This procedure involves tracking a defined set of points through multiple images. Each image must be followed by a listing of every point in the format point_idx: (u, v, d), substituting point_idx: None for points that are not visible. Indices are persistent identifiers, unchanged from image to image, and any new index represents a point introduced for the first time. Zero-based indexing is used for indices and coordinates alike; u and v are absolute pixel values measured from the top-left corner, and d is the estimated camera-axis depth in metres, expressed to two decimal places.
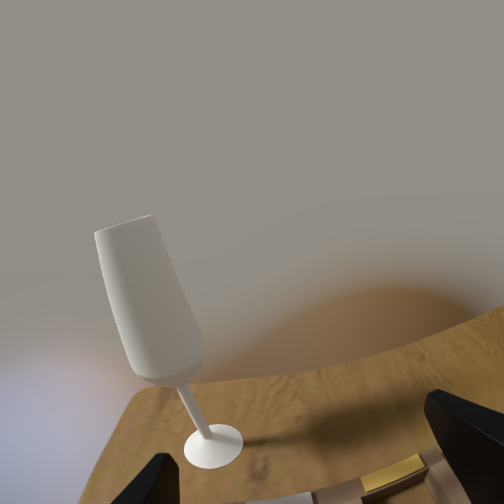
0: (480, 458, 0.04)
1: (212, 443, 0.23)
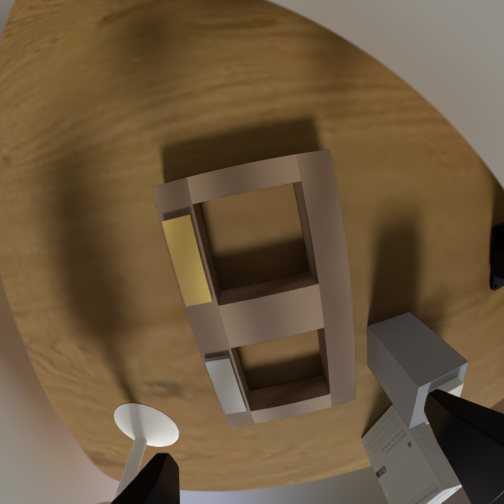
0: (480, 458, 0.04)
1: (148, 434, 0.20)
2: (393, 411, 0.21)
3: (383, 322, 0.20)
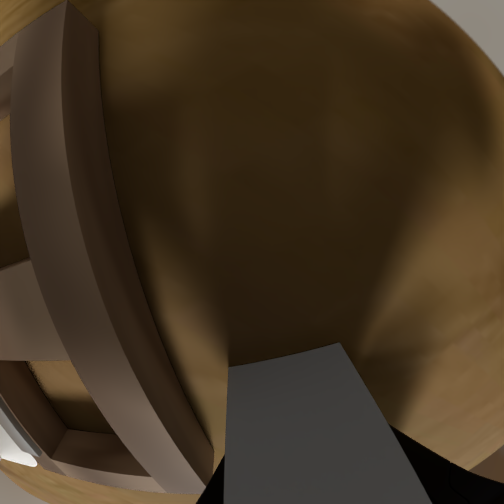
0: None
1: None
2: None
3: (267, 364, 0.09)
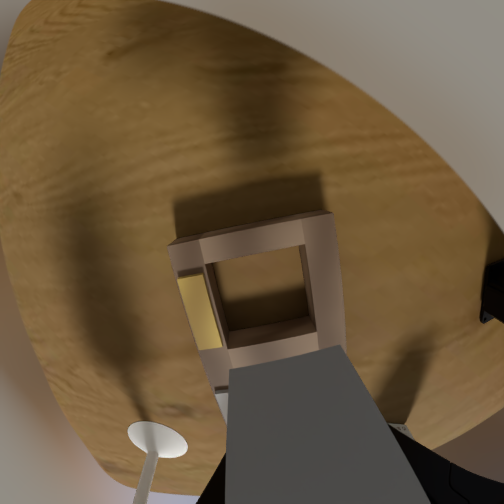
0: None
1: (160, 448, 0.22)
2: None
3: (267, 365, 0.09)
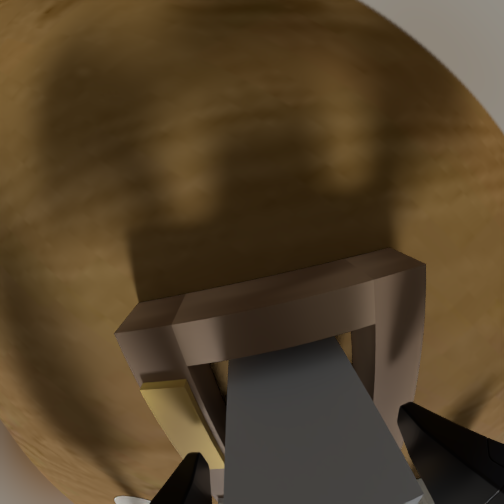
0: (450, 478, 0.04)
1: None
2: None
3: None
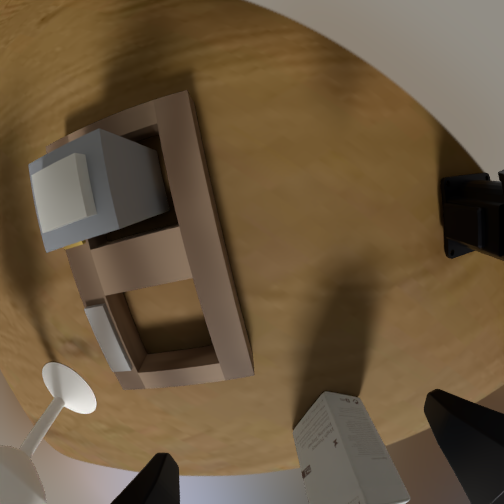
0: (480, 458, 0.04)
1: (65, 395, 0.19)
2: (323, 400, 0.20)
3: None
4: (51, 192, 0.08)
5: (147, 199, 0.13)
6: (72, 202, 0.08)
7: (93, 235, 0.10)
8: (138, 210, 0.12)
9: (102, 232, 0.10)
